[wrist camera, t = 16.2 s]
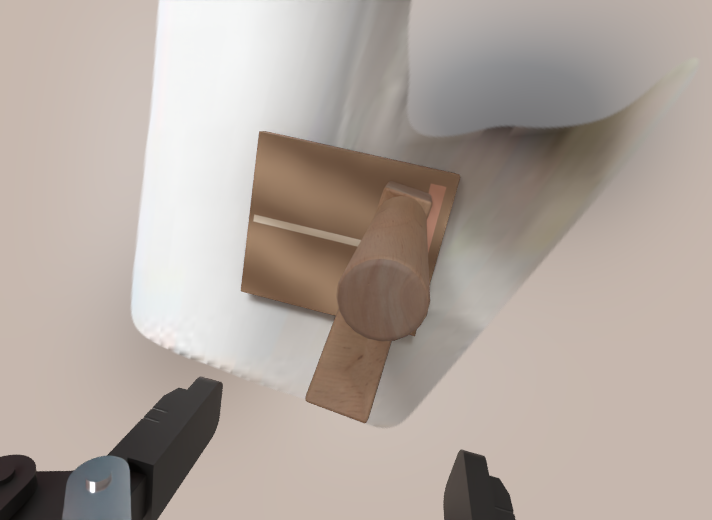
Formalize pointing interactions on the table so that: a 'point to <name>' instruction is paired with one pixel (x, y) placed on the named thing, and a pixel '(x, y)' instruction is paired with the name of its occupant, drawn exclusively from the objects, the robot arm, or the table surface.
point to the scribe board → (324, 216)
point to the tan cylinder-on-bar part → (375, 303)
